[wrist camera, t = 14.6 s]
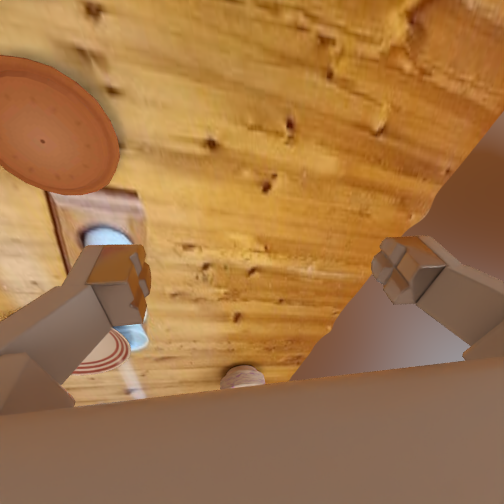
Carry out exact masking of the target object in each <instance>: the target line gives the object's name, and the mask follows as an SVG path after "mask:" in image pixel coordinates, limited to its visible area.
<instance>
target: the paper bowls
mask: <svg viewBox="0 0 504 504" xmlns="http://www.w3.org/2000/svg"><path fill="white" fill-rule="evenodd" d="M264 384H265V380H264V376H263V374H262V373H261V372H259V371H257V370H256V369H255V368H254V367H252V366H249V365H241V366H236V367H234V368H232V369H230V370H229V371H228V372H227V374H226V376H224V377H223V378H222V379H221V382H220V390H221V389H230V388H238V387H247V386H255V385H264Z"/></svg>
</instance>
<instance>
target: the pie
mask: <svg viewBox="0 0 504 504" xmlns="http://www.w3.org/2000/svg"><path fill="white" fill-rule="evenodd" d="M119 158H120V154H119V146H118V139H117V136H116V134H115V131H114V129H113V126H112V124H111V121H110V119H109V118H108V116H107V115H106V114H105V112H104V111H103V109H102V108H101V106H100V105H99V103H98V102H97V101H96V99H94V98H93V97H92V96H91V95H90V94H89V93H88V92H87V91H86V90H84V89H83V88H82V87H81V86H80V85H79V84H78V83H77V82H75V81H73V80H72V79H70V78H69V77H67V76H66V75H64V74H62V73H61V72H59V71H58V70H56V69H55V68H53V67H51V66H48V65H45V64H42V63H38V62H35V61H32V60H29V59H26V58H19V57H12V56H4V55H0V165H1V166H2V167H3V168H4V169H6V170H7V171H8V172H10V173H11V174H13V175H15V176H16V177H18V178H19V179H21V180H23V181H24V182H26V183H28V184H30V185H33V186H35V187H38V188H40V189H43V190H45V191H49V192H53V193H57V194H61V195H84V194H88V193H92V192H96V191H98V190H100V189H101V188H103V187H105V186H106V185H108V184H109V183H110V181H111V179H112V177H113V175H114V173H115V171H116V168H117V165H118V161H119Z"/></svg>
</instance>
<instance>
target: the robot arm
mask: <svg viewBox="0 0 504 504" xmlns="http://www.w3.org/2000/svg"><path fill="white" fill-rule="evenodd" d="M380 249H381V251H380V252H379V253H378V254H376V255H375V256H374V258H373V261H372V263H371V270H372V273H373V276H374V277H375V279H376V280H377V281H378V282H380V283H381V284H383V285H384V289H383V290H384V292H385V293H386V294H387V296H388V297H389V299H390V300H391V302H392V303H393V305H394V304H395V305H396V304H416V306H418V307H419V308H420V309H422V310H423V311H424V312H426V313H427V314H428V315H430V316H431V317H432V318H434V319H435V320H436V321H438V322H439V323H441V324H442V325H444V326H445V327H446V328H447V329H448V330H450V331H451V332H453V333H454V334H455V335H457V336H458V337H459V338H461V339H462V340H463V341H465V342H466V343H467V344H469V345H470V346H471V347H470V348H469V349H467V350H466V351H465V352H463V356H462V357H463V358H464V359H465V361H459V362H450V363H442V364H433V365H425V366H416V367H408V368H400V369H391V370H382V371H374V372H365V373H357V374H349V375H340V376H331V377H323V378H315V379H307V380H297V381H289V382H280V383H272V384H264V385H255V386H247V387H238V388H230V389H221V390H213V391H204V392H196V393H188V394H179V395H171V396H162V397H154V398H145V399H137V400H129V401H120V402H112V403H103V404H95V405H86V406H78V407H74V405H75V402H76V401H75V400H74V398H73V397H72V396H71V395H70V394H69V393H68V392H67V391H66V390H65V389H64V388H63V387H62V386H61V385H62V384H63V383H64V381H65V380H66V379H67V378H68V377H69V376H70V375H71V374H72V373H73V371H74V370H75V369H76V368H77V367H78V366H79V365H80V364H81V363H82V361H83V360H84V359H85V358H86V357H87V356H88V355H89V354H90V353H91V351H92V350H93V349H94V348H95V347H96V346H97V345H98V344H99V343H100V342H101V340H102V339H103V338H104V337H105V336H106V335H107V334H108V333H109V332H110V330H111V329H112V327H113V326H123V325H132V324H142V323H143V320H144V316H145V312H146V307H147V304H146V301H145V297H146V296H148V295H149V294H150V288H151V272H150V267H149V265H148V264H147V263H145V262H144V261H145V257H146V253H145V250H144V246H142V245H88V246H86V247H84V248H83V250H82V252H81V253H80V255H79V257H78V259H77V260H76V262H75V264H74V265H73V267H72V269H71V271H70V272H69V274H68V276H67V277H66V279H65V281H64V283H63V284H62V286H58V287H54V288H52V289H51V290H49V291H48V292H46V293H45V294H43V295H41V296H40V297H38V298H37V299H35V300H34V301H32V302H31V303H29V304H27V305H26V306H24V307H23V308H21V309H20V310H18V311H17V312H15V313H13V314H12V315H10V316H9V317H7V318H6V319H4V320H3V321H1V322H0V504H504V282H503V281H501V280H499V279H496V278H494V277H492V276H490V275H488V274H485V273H483V272H481V271H479V270H477V269H474V268H472V267H470V266H464V265H462V264H461V263H460V262H459V261H458V260H457V259H456V258H455V257H453V256H452V255H451V254H450V253H449V252H448V251H447V250H446V249H444V248H443V247H442V246H441V245H440V244H439V243H438V242H436V241H435V240H434V239H433V238H432V237H430V236H427V235H425V236H424V235H423V236H412V237H387V238H385V239H384V240H383V241H382V243H381V245H380Z"/></svg>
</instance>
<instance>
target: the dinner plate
mask: <svg viewBox="0 0 504 504" xmlns="http://www.w3.org/2000/svg"><path fill="white" fill-rule="evenodd" d="M130 354H131V347H130V344H129V342H128V341H127V339H126V338H125V337H124V336H123V335H122V334H121V333H119V332H118V331H117V330H115V329H113V328H112V329H111V330H110V332H109V333H108V334H107V335H106V336H105V337H104V338H103V339H102V340H101V342H100V343H99V344H98V345H97V346H96V347H95V348H94V349H93V350H92V351H91V353H90V354H89V355H88V356H87V357H86V358H85V359H84V360H83V361H82V363H81V364H80V365H79V366H78V367H77V368H76V369H75V370H74V371H73V373H72V374H71V375H91V374H98V373H103V372H107V371H110V370H113V369H115V368H117V367H119V366H121V365H122V364H123V363H125V362H126V361H127V359H128V358H129V356H130Z"/></svg>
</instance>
